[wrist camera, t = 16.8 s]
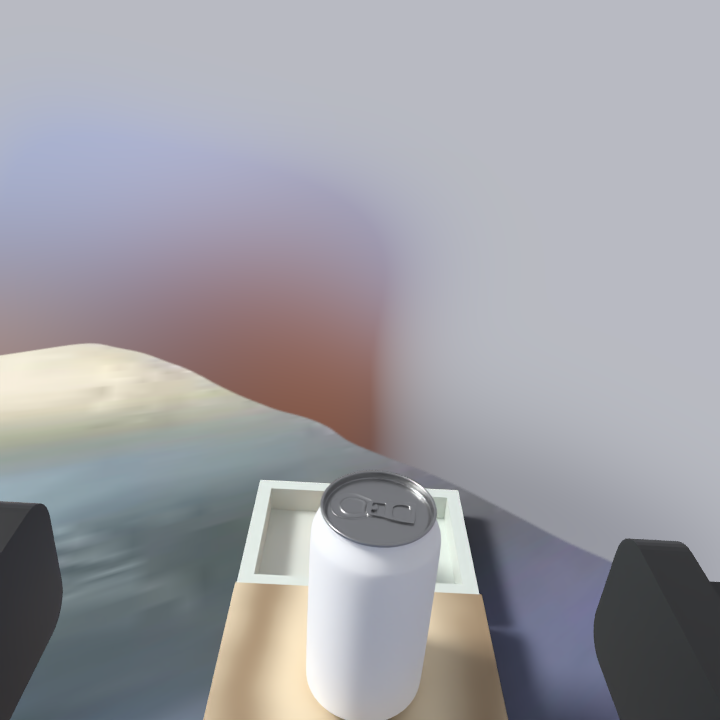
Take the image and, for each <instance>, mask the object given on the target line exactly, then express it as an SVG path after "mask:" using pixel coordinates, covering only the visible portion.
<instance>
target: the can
mask: <svg viewBox="0 0 720 720" xmlns="http://www.w3.org/2000/svg"><path fill="white" fill-rule="evenodd" d="M436 517H437V508H436V504H435V501H434V499H433V498H432V496H431V495H430V493H429V492H428V491H427V490H426V489H425V488H424V487H423V486H421V485H420V484H419V483H417V482H416V481H414V480H412V479H410V478H408V477H406V476H403V475H400V474H397V473H393V472H388V471H379V470H366V471H358V472H354V473H350V474H347V475H344V476H342V477H340V478H338V479H336V480H335V481H334V482H332V483H331V484H330V485H329V486H328V487H327V488H326V489H325V491H324V493H323V495H322V497H321V502H320V508H319V509H318V511H317V512H316V514H315V516H314V519H313V522H312V527H311V537H310V557H309V583H308V612H307V644H306V676H307V682H308V685H309V688H310V690H311V692H312V694H313V696H314V697H315V698H316V700H317V701H318V702H319V703H320V704H321V705H322V706H323V707H324V708H325V709H326V710H328V711H329V712H330V713H332V714H334V715H336V716H338V717H340V718H342V719H345V720H387V719H389V718H392V717H394V716H396V715H397V714H399V713H400V712H402V711H403V710H404V709H405V708H407V707H408V705H409V704H410V703H411V702H412V700H413V699H414V697H415V695H416V693H417V691H418V688H419V684H420V680H421V674H422V668H423V662H424V656H425V649H426V643H427V637H428V630H429V624H430V617H431V611H432V604H433V598H434V591H435V584H436V577H437V571H438V564H439V557H440V549H441V532H440V528H439V524H438V522H437V519H436Z"/></svg>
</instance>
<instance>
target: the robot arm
mask: <svg viewBox="0 0 720 720" xmlns="http://www.w3.org/2000/svg"><path fill="white" fill-rule="evenodd" d="M62 593H63V588H62V579H61V574H60V569H59V563H58V558H57V553H56V547H55V542H54V536H53V531H52V526H51V520H50V516H49V512H48V510H47V508H46V506H45V505H43V504H39V503H21V502H3V501H0V720H10V718H11V716H12V714H13V712H14V710H15V708H16V706H17V704H18V702H19V700H20V698H21V696H22V694H23V692H24V690H25V688H26V686H27V684H28V682H29V680H30V678H31V676H32V674H33V672H34V670H35V668H36V666H37V664H38V662H39V660H40V658H41V656H42V654H43V652H44V650H45V648H46V646H47V644H48V642H49V640H50V638H51V636H52V634H53V631H54V629H55V627H56V624H57V621H58V618H59V614H60V610H61V604H62ZM594 643H595V650H596V654H597V658H598V661H599V664H600V667H601V670H602V672H603V675H604V678H605V680H606V683H607V686H608V688H609V691H610V694H611V697H612V699H613V702H614V705H615V707H616V710H617V713H618V715H619V718H620V720H720V582H710V581H709V580H708V578H707V577H706V575H705V573H704V572H703V570H702V569H701V567H700V565H699V564H698V562H697V560H696V559H695V557H694V556H693V554H692V552H691V551H690V550H689V548H688V547H687V546H686V545H684V544H683V543H681V542H678V541H661V540H644V539H625V540H623V541H622V542H621V543H620V545H619V547H618V549H617V551H616V554H615V557H614V560H613V563H612V566H611V569H610V572H609V575H608V578H607V581H606V584H605V587H604V590H603V593H602V596H601V599H600V602H599V605H598V608H597V610H596V614H595V619H594Z"/></svg>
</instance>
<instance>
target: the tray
mask: <svg viewBox="0 0 720 720" xmlns="http://www.w3.org/2000/svg"><path fill="white" fill-rule="evenodd" d="M329 485H330V484H328V483H309V482H291V481H272V480H260V484H259V488H258V493H257V497H256V501H255V506H254V510H253V514H252V519H251V523H250V527H249V532H248V536H247V541H246V545H245V549H244V554H243V558H242V562H241V567H240V571H239V575H238V580H237V582H241V583H261V584H281V585H301V586H308V583H309V557H310V537H311V527H312V522H313V519H314V516H315V514H316V512H317V511H318V509H319V508H320V502H321V497H322V495H323V493H324V491H325V489H326V488H327V487H328V486H329ZM426 490H427V491H428V492H429V493H430V495H431V496H432V498H433V499H434V501H435V504H436V508H437V517H436V519H437V522H438V524H439V528H440V532H441V549H440V557H439V564H438V571H437V577H436V584H435V591H434V592H442V593H462V594H479V590H478V585H477V580H476V576H475V571H474V566H473V561H472V556H471V551H470V547H469V542H468V537H467V532H466V527H465V522H464V517H463V513H462V508H461V503H460V498H459V493H458V490H440V489H426Z"/></svg>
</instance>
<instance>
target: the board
mask: <svg viewBox="0 0 720 720" xmlns="http://www.w3.org/2000/svg"><path fill="white" fill-rule="evenodd" d="M307 612H308V586H301V585H281V584H261V583H241V582H235V586H234V591H233V595H232V599H231V603H230V608H229V612H228V616H227V621H226V625H225V629H224V634H223V638H222V642H221V646H220V651H219V655H218V659H217V664H216V668H215V672H214V677H213V681H212V685H211V689H210V694H209V698H208V702H207V707H206V711H205V715H204V720H345V719H342V718H340V717H338V716H336V715H334V714H332V713H330V712H329V711H328V710H326V709H325V708H324V707H323V706H322V705H321V704H320V703H319V702H318V701H317V700H316V698H315V697H314V696H313V694H312V692H311V690H310V688H309V685H308V682H307V676H306V644H307ZM387 720H508V717H507V713H506V708H505V703H504V698H503V694H502V689H501V684H500V679H499V675H498V670H497V665H496V660H495V656H494V651H493V646H492V641H491V637H490V632H489V627H488V622H487V617H486V613H485V608H484V603H483V598H482V594H462V593H442V592H434V598H433V604H432V611H431V617H430V624H429V630H428V637H427V643H426V649H425V656H424V662H423V668H422V674H421V680H420V684H419V688H418V691H417V693H416V695H415V697H414V699H413V700H412V702H411V703H410V704H409V705H408V707H407V708H405V709H404V710H403V711H402V712H400V713H399V714H397V715H396V716H394V717H392V718H389V719H387Z"/></svg>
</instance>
